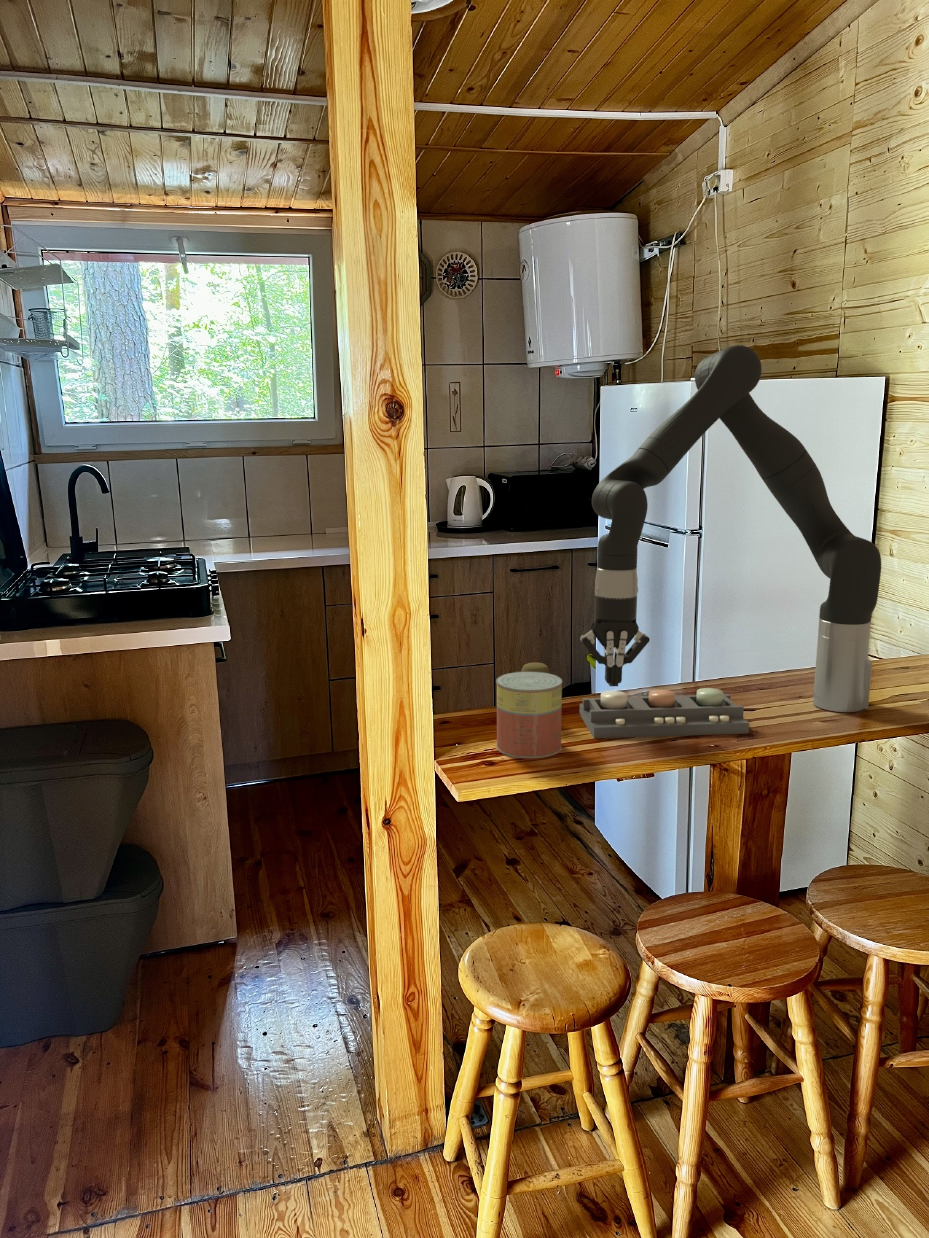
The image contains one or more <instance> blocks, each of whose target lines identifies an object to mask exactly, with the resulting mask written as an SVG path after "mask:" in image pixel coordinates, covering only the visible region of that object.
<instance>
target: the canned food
mask: <svg viewBox="0 0 929 1238" xmlns="http://www.w3.org/2000/svg"><path fill="white" fill-rule="evenodd" d="M495 683H496V749H497V750H498V752H499V753H501V754H503V755H505V756H508V757H512V758H518V759H543V758H548V757H552V756H554V755H557V754H558V753H560V751H561V750H562V748H563V747H562V711H563V710H562V707H563V706H562V705H563V704H562V700H563V699H562V698H563V697H562V696H563V688H562V687H563V679H562V678H561V677H560V676H558V675H557V674H552V673H550V672H549V673H544V672H532V671H524V672H521V671H513V672H509V673H505V674H502V675H500V676H498V677H497V678H496V680H495Z"/></svg>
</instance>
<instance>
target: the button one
mask: <svg viewBox="0 0 929 1238" xmlns="http://www.w3.org/2000/svg"><path fill="white" fill-rule="evenodd" d="M627 697H628V694H627V693H626V692H623V691H620V690H606V691H603V692H601V693H600V698H601V706H602V707H604V708H608V709H622V708H625V707H626V706H627Z"/></svg>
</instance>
